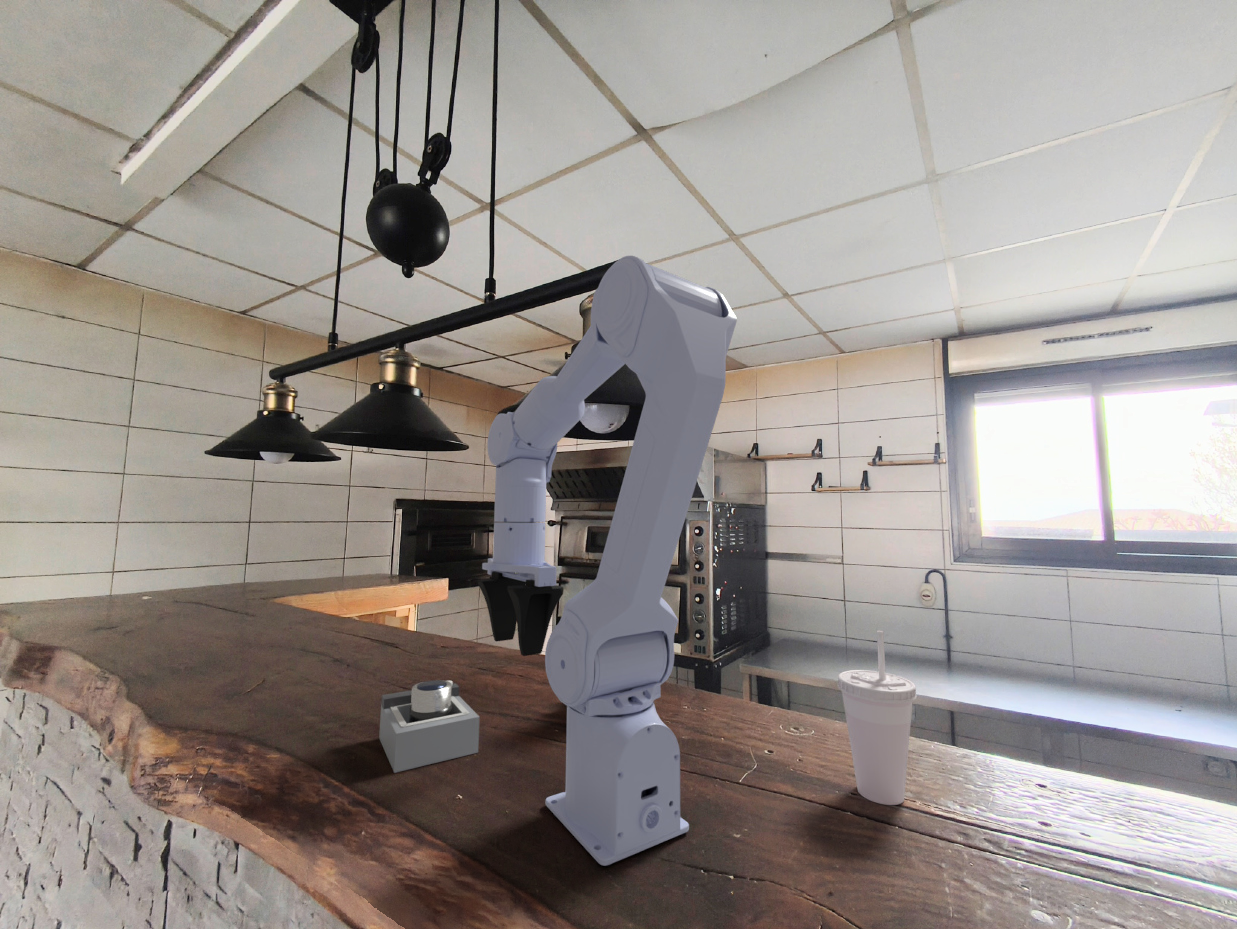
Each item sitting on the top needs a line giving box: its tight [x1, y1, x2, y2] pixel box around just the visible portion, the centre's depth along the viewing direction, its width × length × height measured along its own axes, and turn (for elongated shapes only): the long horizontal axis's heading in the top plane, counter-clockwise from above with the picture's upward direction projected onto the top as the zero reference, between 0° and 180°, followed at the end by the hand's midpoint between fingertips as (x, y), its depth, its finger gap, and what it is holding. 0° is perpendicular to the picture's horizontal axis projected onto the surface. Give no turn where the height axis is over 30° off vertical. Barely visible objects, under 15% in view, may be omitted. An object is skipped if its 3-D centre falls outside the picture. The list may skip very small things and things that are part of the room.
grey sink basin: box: [378, 680, 480, 774], centre depth 54 cm, size 9×8×5 cm
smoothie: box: [837, 630, 918, 806], centre depth 46 cm, size 6×6×14 cm
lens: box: [409, 679, 452, 723], centre depth 54 cm, size 4×4×6 cm
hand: (516, 646), depth 56 cm, fingers open, 7 cm apart
